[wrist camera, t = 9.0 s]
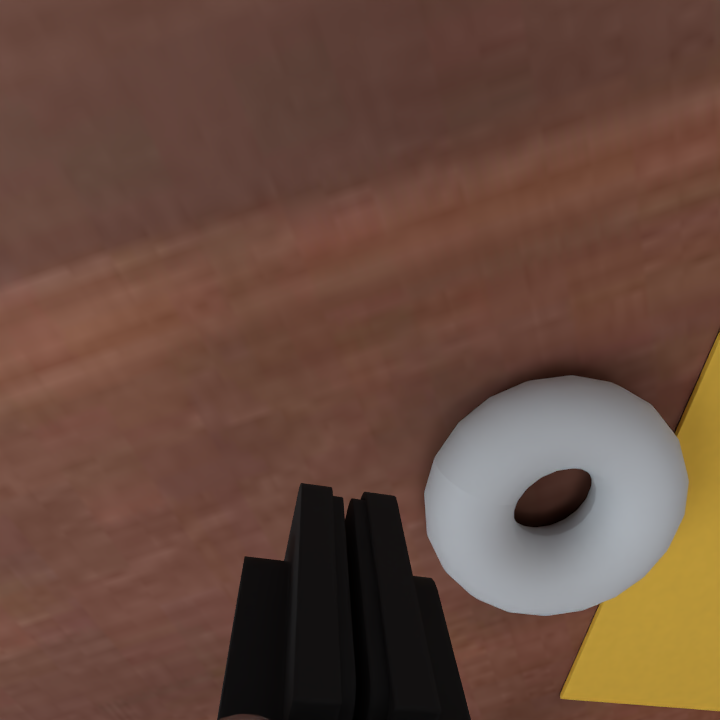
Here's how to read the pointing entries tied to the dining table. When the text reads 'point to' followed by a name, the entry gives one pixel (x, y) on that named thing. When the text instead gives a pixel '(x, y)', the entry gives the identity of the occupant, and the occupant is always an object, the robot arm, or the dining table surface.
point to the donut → (537, 459)
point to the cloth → (668, 591)
